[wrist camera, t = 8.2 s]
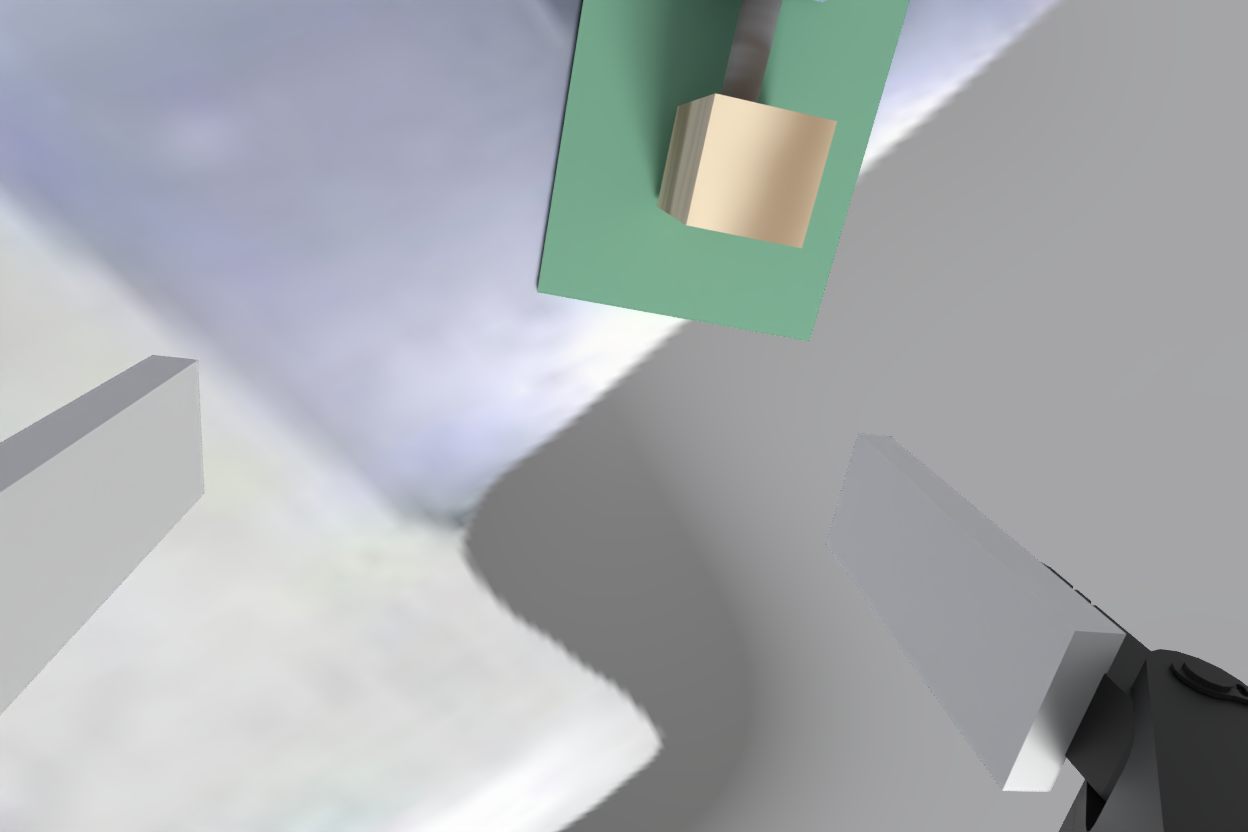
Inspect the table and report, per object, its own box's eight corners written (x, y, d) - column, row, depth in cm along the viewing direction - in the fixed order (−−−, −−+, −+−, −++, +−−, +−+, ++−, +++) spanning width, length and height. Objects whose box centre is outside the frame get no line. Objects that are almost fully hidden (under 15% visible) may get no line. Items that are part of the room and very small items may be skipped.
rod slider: (638, 203, 38) (662, 220, 29) (692, -69, 34) (739, -145, 25) (764, 228, 39) (824, 252, 30) (831, -33, 35) (924, -93, 26)
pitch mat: (537, 290, 40) (537, 291, 40) (629, -293, 31) (630, -298, 31) (807, 339, 42) (809, 341, 42) (962, -192, 34) (967, -196, 33)
